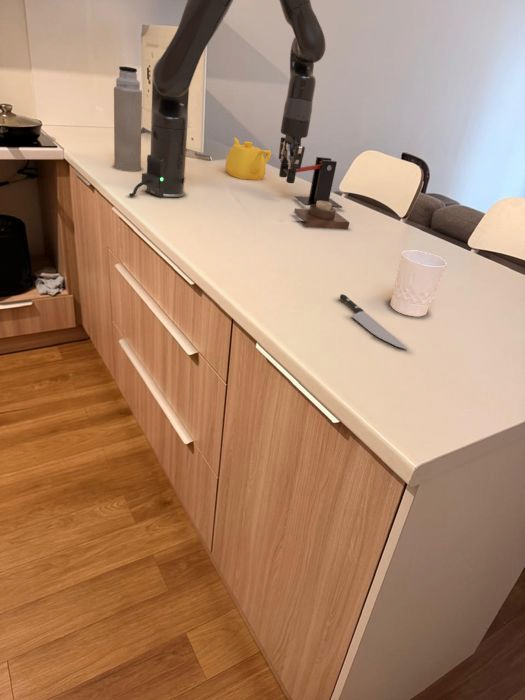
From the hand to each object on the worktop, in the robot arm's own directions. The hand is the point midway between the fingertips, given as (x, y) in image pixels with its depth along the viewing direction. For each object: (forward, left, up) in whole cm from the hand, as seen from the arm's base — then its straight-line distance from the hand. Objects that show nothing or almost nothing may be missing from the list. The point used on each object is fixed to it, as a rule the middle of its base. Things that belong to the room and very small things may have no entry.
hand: (286, 179), depth 145 cm
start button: (-4, -18, -3) cm, 18 cm away
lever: (+5, -3, +2) cm, 7 cm away
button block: (-4, -18, -7) cm, 19 cm away
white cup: (-32, -61, -7) cm, 69 cm away
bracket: (+10, -6, -7) cm, 13 cm away
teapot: (+15, +29, -7) cm, 34 cm away
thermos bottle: (-22, +46, -7) cm, 52 cm away
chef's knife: (-45, -60, -7) cm, 75 cm away
